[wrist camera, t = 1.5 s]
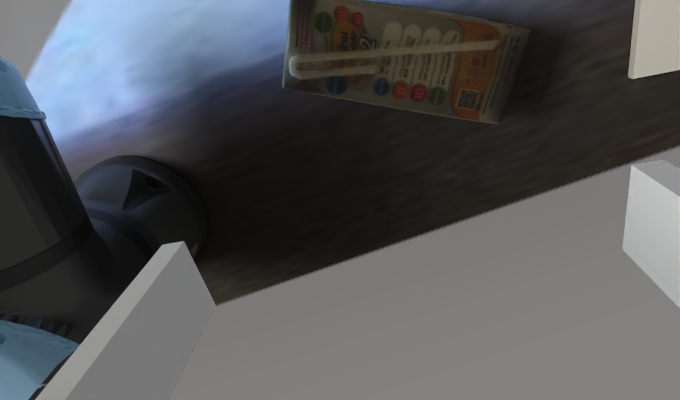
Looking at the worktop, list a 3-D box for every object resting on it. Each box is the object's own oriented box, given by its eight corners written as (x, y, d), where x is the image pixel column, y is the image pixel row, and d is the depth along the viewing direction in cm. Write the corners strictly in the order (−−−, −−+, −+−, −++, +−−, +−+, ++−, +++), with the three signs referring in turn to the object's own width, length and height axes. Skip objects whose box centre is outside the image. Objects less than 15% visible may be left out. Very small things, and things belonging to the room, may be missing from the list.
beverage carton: (300, -13, 35) (286, -15, 29) (514, 22, 35) (543, 28, 29) (292, 79, 38) (278, 94, 33) (485, 110, 39) (506, 131, 33)
